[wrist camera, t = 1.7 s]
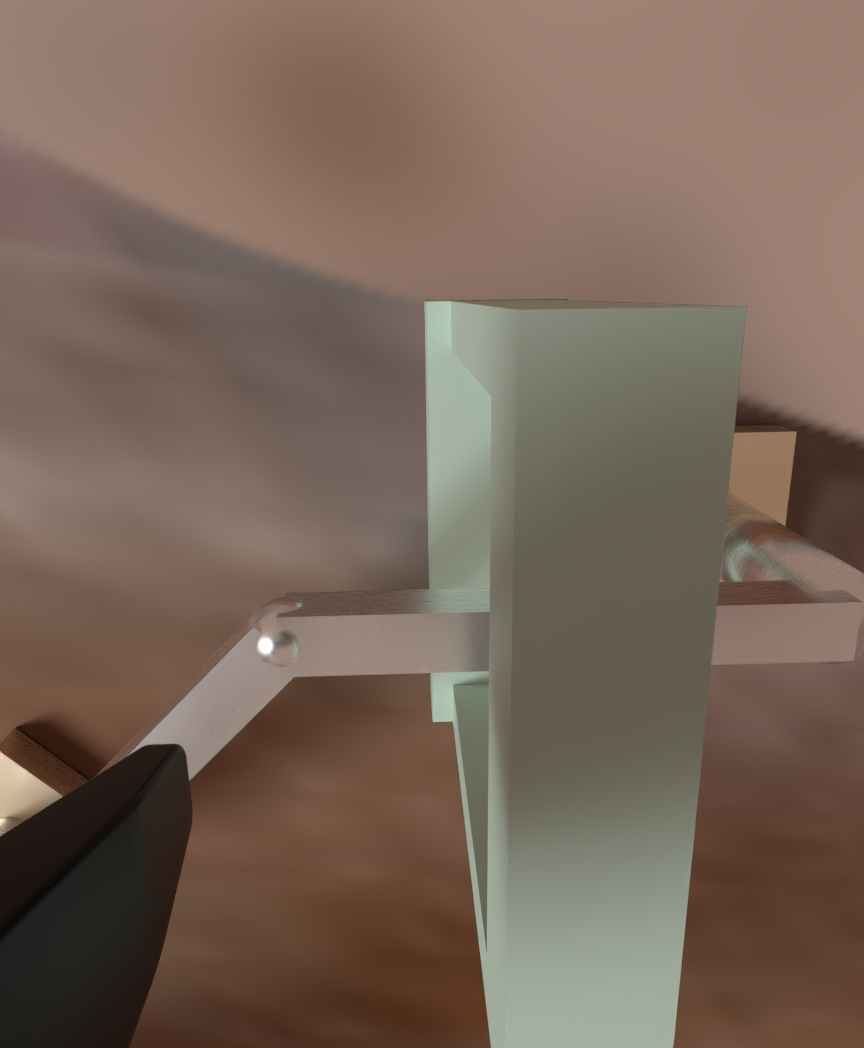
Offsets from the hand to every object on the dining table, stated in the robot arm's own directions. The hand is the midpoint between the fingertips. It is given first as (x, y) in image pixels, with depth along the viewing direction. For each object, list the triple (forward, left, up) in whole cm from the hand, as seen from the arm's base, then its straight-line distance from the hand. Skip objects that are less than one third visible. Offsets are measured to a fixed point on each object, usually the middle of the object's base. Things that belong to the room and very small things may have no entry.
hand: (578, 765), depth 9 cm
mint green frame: (0, 0, -11) cm, 11 cm away
